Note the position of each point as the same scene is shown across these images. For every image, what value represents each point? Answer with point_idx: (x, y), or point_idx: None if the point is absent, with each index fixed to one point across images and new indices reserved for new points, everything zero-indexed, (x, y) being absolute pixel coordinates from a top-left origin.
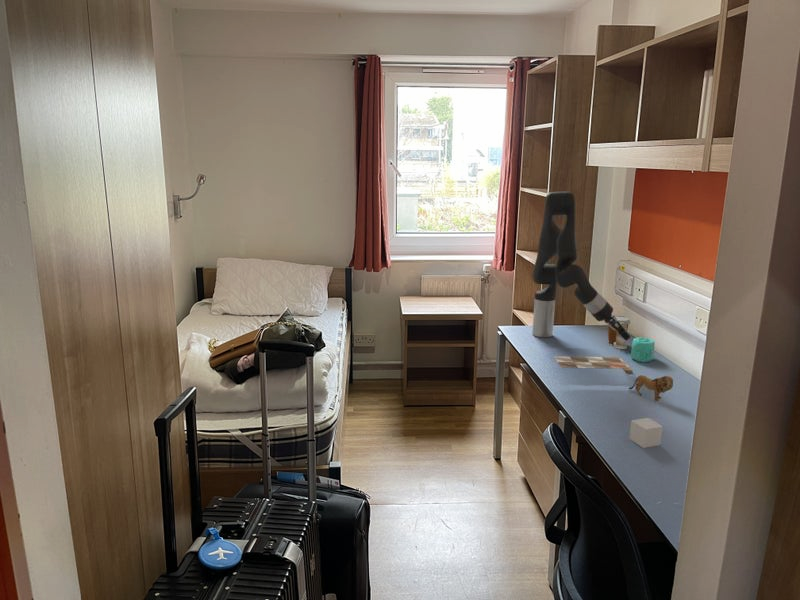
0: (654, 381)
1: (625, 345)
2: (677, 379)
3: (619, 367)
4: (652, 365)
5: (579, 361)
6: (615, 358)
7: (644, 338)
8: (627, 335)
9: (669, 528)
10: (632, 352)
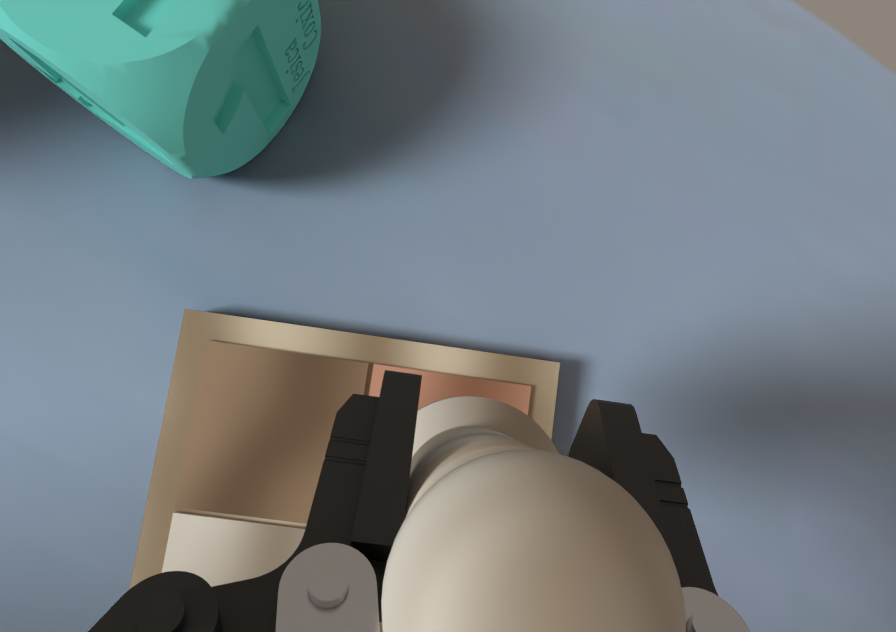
0: None
1: (546, 447)
2: (714, 66)
3: None
4: (388, 82)
5: None
6: (240, 378)
7: None
8: (678, 491)
9: None
10: (203, 166)
